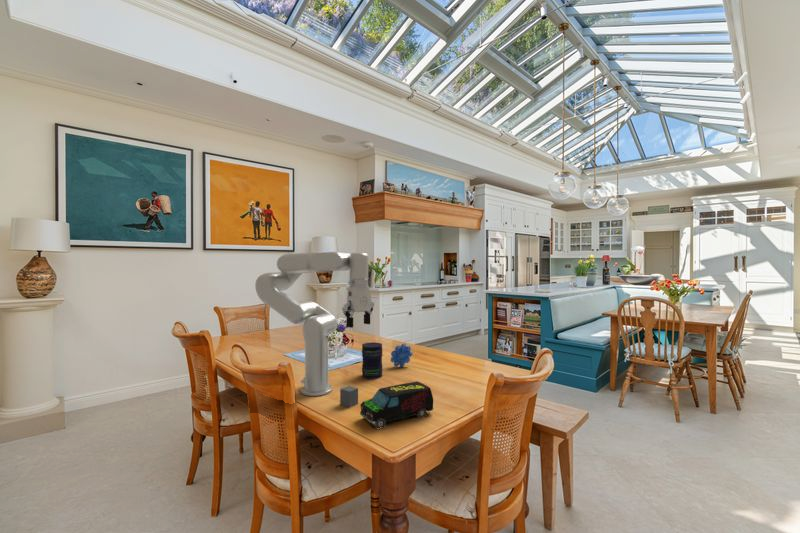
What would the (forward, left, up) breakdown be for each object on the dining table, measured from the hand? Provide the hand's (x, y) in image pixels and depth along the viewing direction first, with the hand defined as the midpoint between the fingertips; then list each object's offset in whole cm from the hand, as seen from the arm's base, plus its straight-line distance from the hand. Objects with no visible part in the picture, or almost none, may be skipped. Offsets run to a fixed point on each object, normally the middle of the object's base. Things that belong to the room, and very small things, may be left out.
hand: (358, 325), depth 144 cm
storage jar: (-12, +23, -29) cm, 39 cm away
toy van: (+24, -7, -29) cm, 38 cm away
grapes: (-10, +44, -29) cm, 53 cm away
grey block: (+3, -8, -29) cm, 30 cm away
